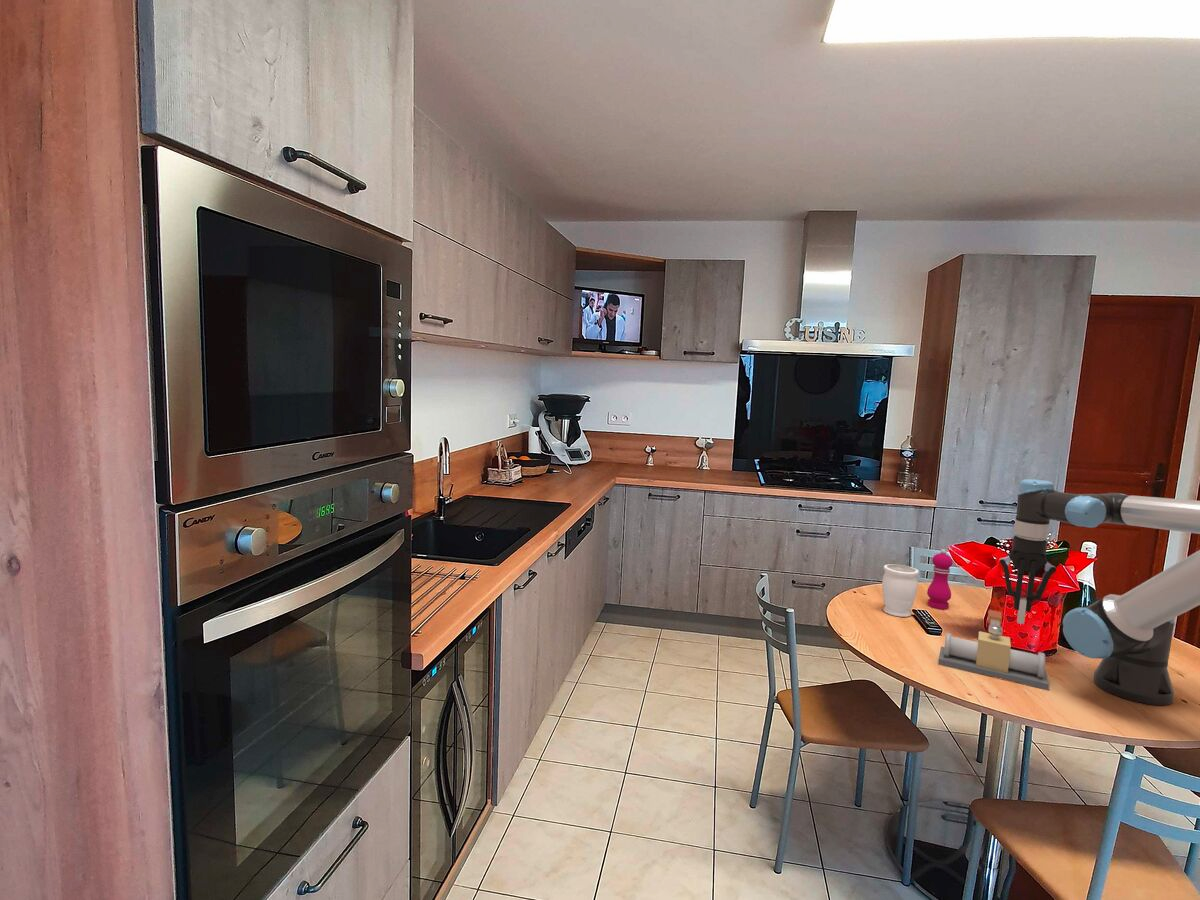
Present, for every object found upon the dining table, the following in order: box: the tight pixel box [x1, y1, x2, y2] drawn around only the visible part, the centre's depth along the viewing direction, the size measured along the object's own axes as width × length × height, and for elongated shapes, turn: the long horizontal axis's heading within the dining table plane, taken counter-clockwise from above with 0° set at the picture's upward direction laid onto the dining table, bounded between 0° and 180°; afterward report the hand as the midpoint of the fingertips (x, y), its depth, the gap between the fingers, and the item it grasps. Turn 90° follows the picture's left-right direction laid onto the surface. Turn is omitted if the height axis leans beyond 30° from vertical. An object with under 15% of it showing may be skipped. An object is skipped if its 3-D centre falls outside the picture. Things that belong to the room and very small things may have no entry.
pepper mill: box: [926, 548, 953, 611], centre depth 212 cm, size 7×7×20 cm
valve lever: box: [987, 609, 1003, 636], centre depth 169 cm, size 16×3×2 cm, turn 148°
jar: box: [881, 563, 919, 618], centre depth 204 cm, size 11×10×15 cm
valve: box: [938, 631, 1050, 691], centre depth 164 cm, size 24×10×10 cm, turn 58°
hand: (1020, 622), depth 170 cm, fingers closed
